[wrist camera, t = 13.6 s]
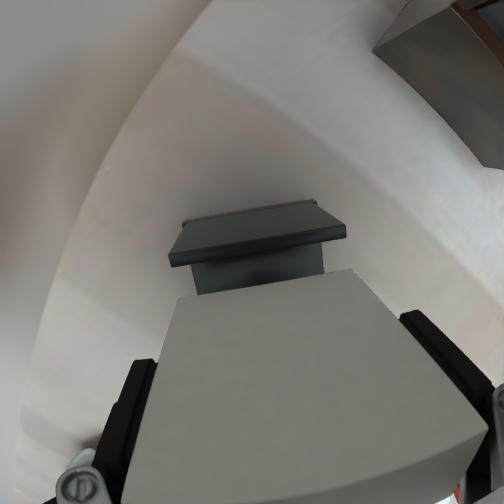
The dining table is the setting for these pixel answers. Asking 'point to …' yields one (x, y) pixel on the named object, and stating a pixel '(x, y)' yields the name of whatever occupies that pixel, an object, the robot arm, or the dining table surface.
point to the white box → (299, 403)
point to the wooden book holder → (455, 66)
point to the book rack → (255, 246)
